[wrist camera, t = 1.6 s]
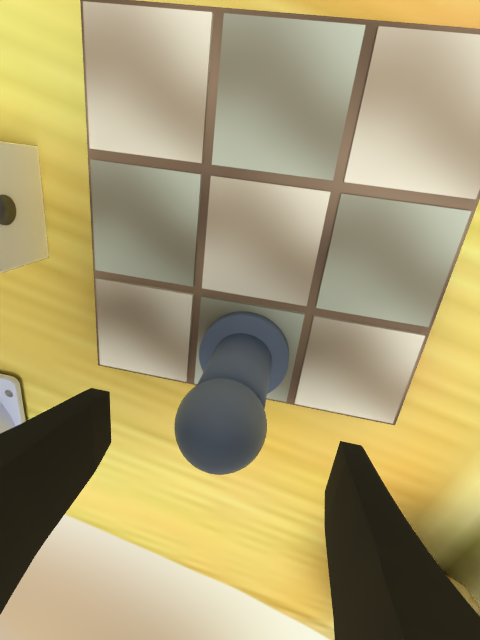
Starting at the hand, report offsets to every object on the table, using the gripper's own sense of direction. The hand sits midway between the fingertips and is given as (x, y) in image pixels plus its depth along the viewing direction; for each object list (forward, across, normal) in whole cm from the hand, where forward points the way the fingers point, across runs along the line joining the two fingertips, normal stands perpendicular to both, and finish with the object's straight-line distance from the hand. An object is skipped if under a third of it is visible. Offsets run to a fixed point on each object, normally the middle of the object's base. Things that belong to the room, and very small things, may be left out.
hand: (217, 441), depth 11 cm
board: (+7, 0, -5) cm, 9 cm away
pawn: (+6, 0, 0) cm, 6 cm away
